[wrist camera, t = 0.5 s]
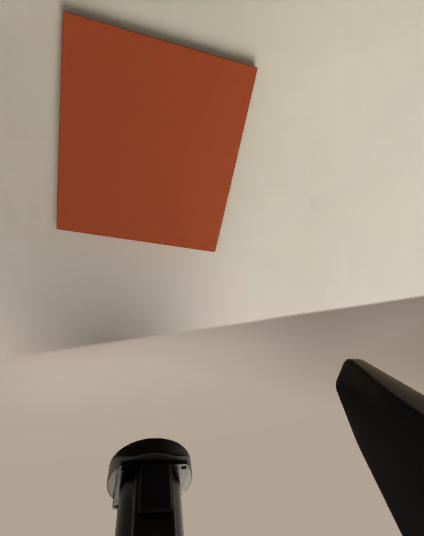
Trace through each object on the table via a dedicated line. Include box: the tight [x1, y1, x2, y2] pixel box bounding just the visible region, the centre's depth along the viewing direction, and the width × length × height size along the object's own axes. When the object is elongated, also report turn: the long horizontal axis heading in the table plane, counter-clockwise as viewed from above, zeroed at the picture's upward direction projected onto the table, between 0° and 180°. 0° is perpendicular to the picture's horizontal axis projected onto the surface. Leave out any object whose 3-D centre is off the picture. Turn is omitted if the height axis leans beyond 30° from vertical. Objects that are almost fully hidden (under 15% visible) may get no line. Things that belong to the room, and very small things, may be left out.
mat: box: [57, 11, 257, 252], centre depth 19 cm, size 11×10×1 cm
